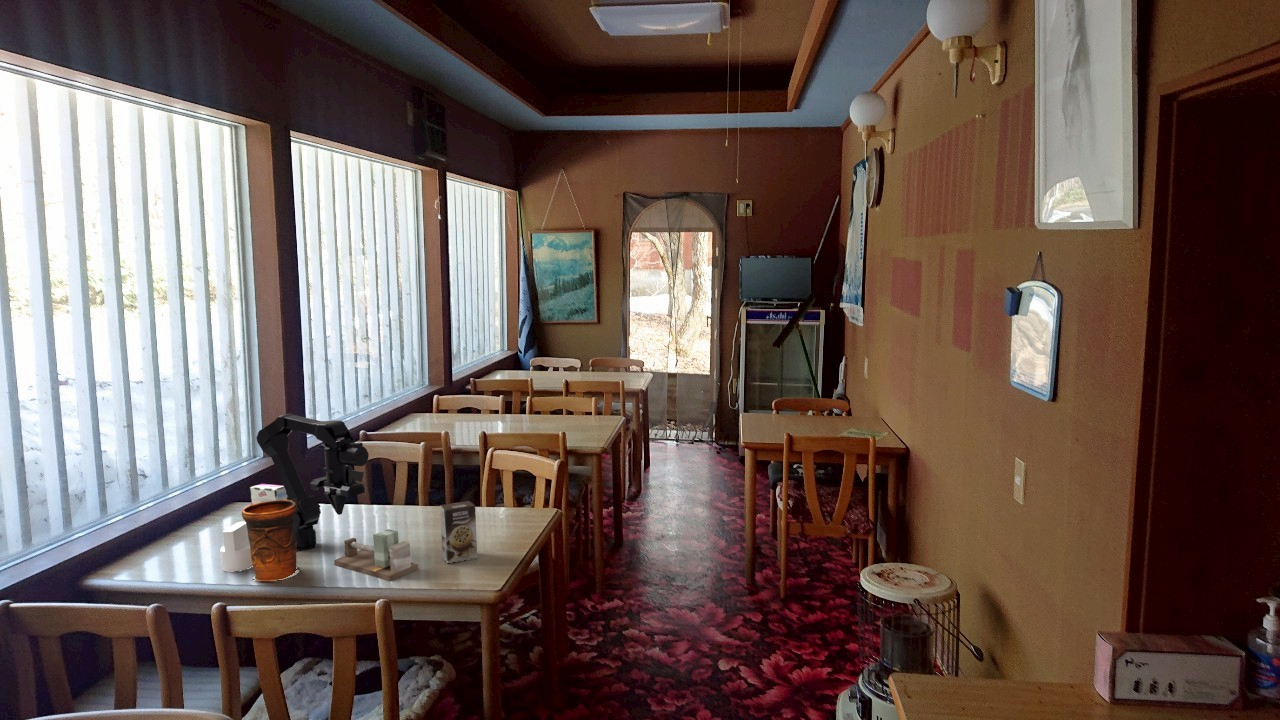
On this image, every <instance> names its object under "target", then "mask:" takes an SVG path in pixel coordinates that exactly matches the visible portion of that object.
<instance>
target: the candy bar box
mask: <svg viewBox="0 0 1280 720" xmlns="http://www.w3.org/2000/svg"><path fill="white" fill-rule="evenodd" d="M249 489H250V491H249V492H250V501H251V504H256V503H260V502H268V501H274V500H289V498H288V495H287V492H286V490H285V488H284V485H278V484H269V483H268V484H266V483H260V484H256V485H253V486H250V487H249Z"/></svg>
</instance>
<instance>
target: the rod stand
mask: <svg viewBox="0 0 1280 720" xmlns="http://www.w3.org/2000/svg"><path fill="white" fill-rule="evenodd" d="M410 544H411V543H410V542H407V541H404V540H403V541H401V542H399V543H398V544H395V545H393V546H390V547H389V550H390V552H388V556H389V557H390V566H388V567H386V568H382V567H379V566H375V556H374V546H371V545H368V544H364V543H361V542H357V538H355V537H351V538H348V539H346V540H344V553H345V555H344V556H342V557H339V558H336V559H334V560H333V562H334V564H333V565H334V566H336V567H341V568H343V569H348V570H350V571H354V572H356V573H361V574H364V575H368V576H371V577H375V578H378V579H381V580H385V581H388V582H391V581H394V580H396V579H398V578H401V577H402V576H406V575H407V574H410V573H412V572H415V571H418V570H419V564H418V563H416V562H412V561H411V545H410ZM414 570H415V571H414ZM409 572H410V573H409Z"/></svg>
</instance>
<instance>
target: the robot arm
mask: <svg viewBox="0 0 1280 720" xmlns="http://www.w3.org/2000/svg"><path fill="white" fill-rule="evenodd" d="M293 431H295V432H299V433H302V434H303V433H304V434H307V435H311V436H314V437H315V438H316V440H318V441H320V442H322V443H321V444H320V445H318V449H320V450H324V461H325V463H324V464H325V467H322V472H323V473H326V475H325V476H322V477H318V478H314V479H312V480H311V481H310V483H309V484H310V490H313V491H318V490H319V489H320V488H321V487H322V488H324V491H323V492H322V494H323V495H324V497H325V498H326V500H327V501H328V502H329V503H330V505H331V507H332V509H333V510H334V511H335V513H336V515H338V516H341V515H342V514H343V511H344V509H345V504H346V501H347V498H351V497H354V496H359V495H362V494H364V493H366V485H365V484H364V483H363V481H364V476H365V472H364V471H362V470H361V471H360V470H354V469H353V467H352V466H354V467H363V466H365V465H366V464H367V463H368V460H369V452H368V449H367V448H365V447H364V444H363V442H356V439H355V438H354V436H353V434H352V433H351V431H350V430H349V428H348V427H347V425H346V423H345V422H344V421H342V420H318V419H315V418H309V417H305V416H300V415H296V414H293V413H287V414H281V415H279V416H278V417H276V418H275V419H274V421H272V422H271V423H269V424H268V425H266V426H265V427H263V428H262V429H260V430H259V431H258V432H257V436H256V437H255V438H256V442H257V444H258V446H259V447H260V449H261V450H262V452H263V453H264V454H266V455H268V456H269V457H270V458H271V460H272V462H273V464H274V466H275V469H276V471H277V474H278V476H279V478H280V480H281V483H282V486H284V488H285V490H286V492H287V498H288V500H290V501H293V502H295V503H296V505H297V513H296V515H295V520H294V531H295V537H296V542H297V551H302V549H303V550H309V549H314V548H316V544H317V534H316V533H317V532H316V529H315V528H314V526H315V525H318V524H319V519H320V516H321V513H322V512H321V505H320V503H319V502H318V499H317V497H316V496H315V495H309V494H308V493H307V492H306V490H305V487H304V485H303V483H302V480H301V478H300V476H299V474H298V471H297V469H296V466H295V464H294V463H293V460H292V457H291V456H290V453H289V443H290V440H289V435H290V434H292V432H293Z"/></svg>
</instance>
